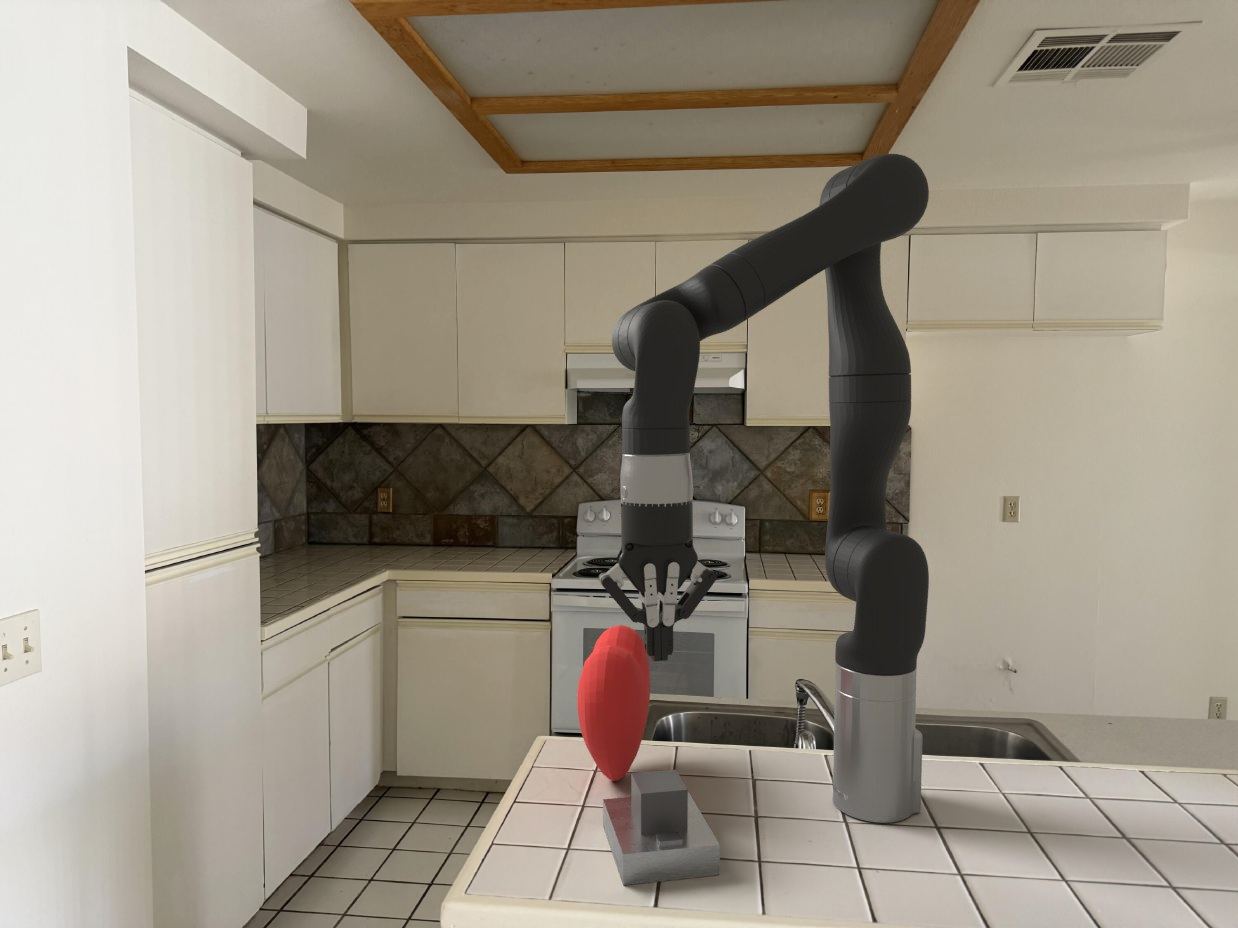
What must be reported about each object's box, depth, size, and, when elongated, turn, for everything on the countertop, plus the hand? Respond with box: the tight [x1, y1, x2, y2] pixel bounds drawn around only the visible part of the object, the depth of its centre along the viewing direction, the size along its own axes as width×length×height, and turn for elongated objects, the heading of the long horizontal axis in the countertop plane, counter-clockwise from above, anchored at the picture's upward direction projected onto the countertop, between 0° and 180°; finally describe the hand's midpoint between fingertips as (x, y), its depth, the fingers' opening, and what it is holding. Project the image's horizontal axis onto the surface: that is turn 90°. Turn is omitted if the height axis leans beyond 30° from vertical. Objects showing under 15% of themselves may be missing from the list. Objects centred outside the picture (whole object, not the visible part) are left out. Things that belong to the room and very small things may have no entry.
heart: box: [576, 624, 651, 782], centre depth 108 cm, size 20×9×19 cm, turn 172°
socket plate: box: [602, 791, 721, 886], centre depth 91 cm, size 10×12×4 cm
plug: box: [630, 769, 689, 835], centre depth 91 cm, size 5×5×7 cm
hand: (658, 658), depth 90 cm, fingers closed
